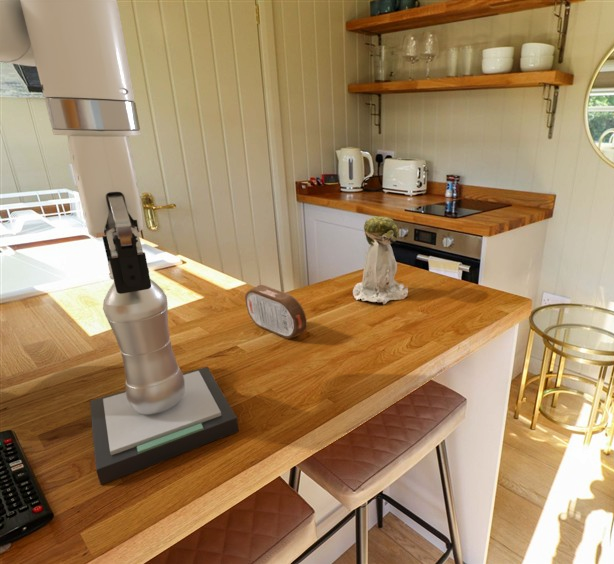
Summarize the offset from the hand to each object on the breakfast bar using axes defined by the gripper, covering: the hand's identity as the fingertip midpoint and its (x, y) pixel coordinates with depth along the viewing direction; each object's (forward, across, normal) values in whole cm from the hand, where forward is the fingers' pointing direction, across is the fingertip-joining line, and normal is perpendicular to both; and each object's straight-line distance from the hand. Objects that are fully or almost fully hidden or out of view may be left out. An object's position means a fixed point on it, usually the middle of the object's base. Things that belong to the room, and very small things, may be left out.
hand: (129, 277), depth 49 cm
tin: (+21, -17, +22) cm, 35 cm away
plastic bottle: (+18, 0, 0) cm, 18 cm away
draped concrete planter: (+20, -21, +50) cm, 57 cm away
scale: (+21, 0, 0) cm, 21 cm away
